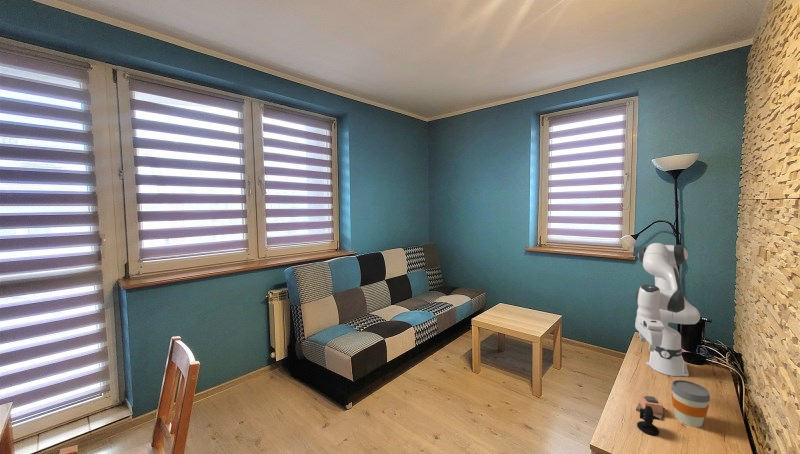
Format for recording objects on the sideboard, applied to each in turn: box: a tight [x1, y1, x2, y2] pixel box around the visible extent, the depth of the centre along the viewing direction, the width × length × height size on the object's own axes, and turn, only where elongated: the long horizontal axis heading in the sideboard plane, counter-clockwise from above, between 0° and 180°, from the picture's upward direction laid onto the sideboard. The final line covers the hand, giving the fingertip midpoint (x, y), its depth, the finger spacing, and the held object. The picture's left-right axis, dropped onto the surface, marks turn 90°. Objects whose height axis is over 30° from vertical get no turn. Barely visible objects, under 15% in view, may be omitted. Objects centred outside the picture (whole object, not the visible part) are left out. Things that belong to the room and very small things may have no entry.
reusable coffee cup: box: [670, 379, 711, 428], centre depth 139 cm, size 13×13×15 cm
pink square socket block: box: [638, 394, 664, 415], centre depth 146 cm, size 7×7×4 cm
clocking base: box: [635, 395, 666, 421], centre depth 146 cm, size 10×9×6 cm
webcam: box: [636, 406, 661, 436], centre depth 134 cm, size 8×8×10 cm
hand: (646, 346), depth 153 cm, fingers open, 8 cm apart
